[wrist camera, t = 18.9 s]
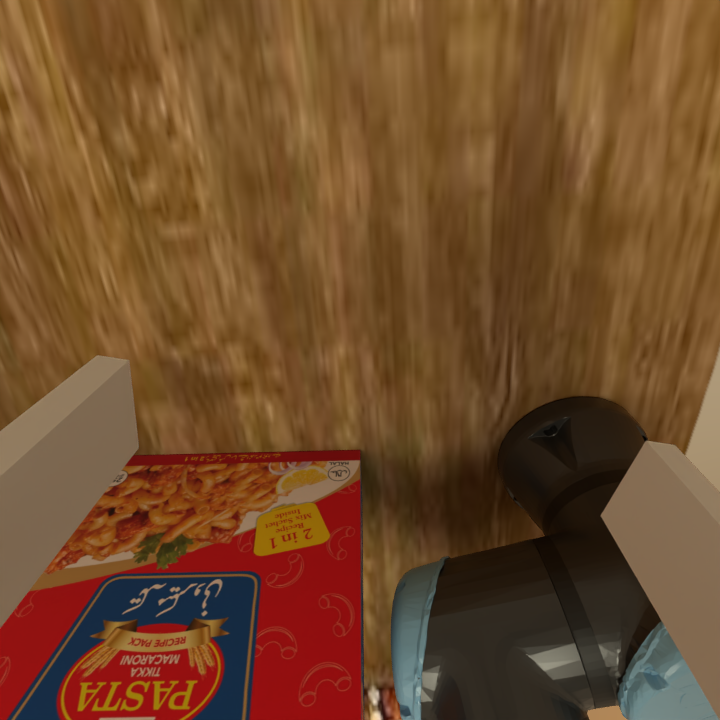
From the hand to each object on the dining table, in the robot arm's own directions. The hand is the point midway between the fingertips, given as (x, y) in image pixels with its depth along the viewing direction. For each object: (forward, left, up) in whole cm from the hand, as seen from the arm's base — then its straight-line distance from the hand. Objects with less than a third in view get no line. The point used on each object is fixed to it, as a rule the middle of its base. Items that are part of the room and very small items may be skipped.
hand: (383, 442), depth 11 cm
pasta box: (+10, +30, -28) cm, 42 cm away
